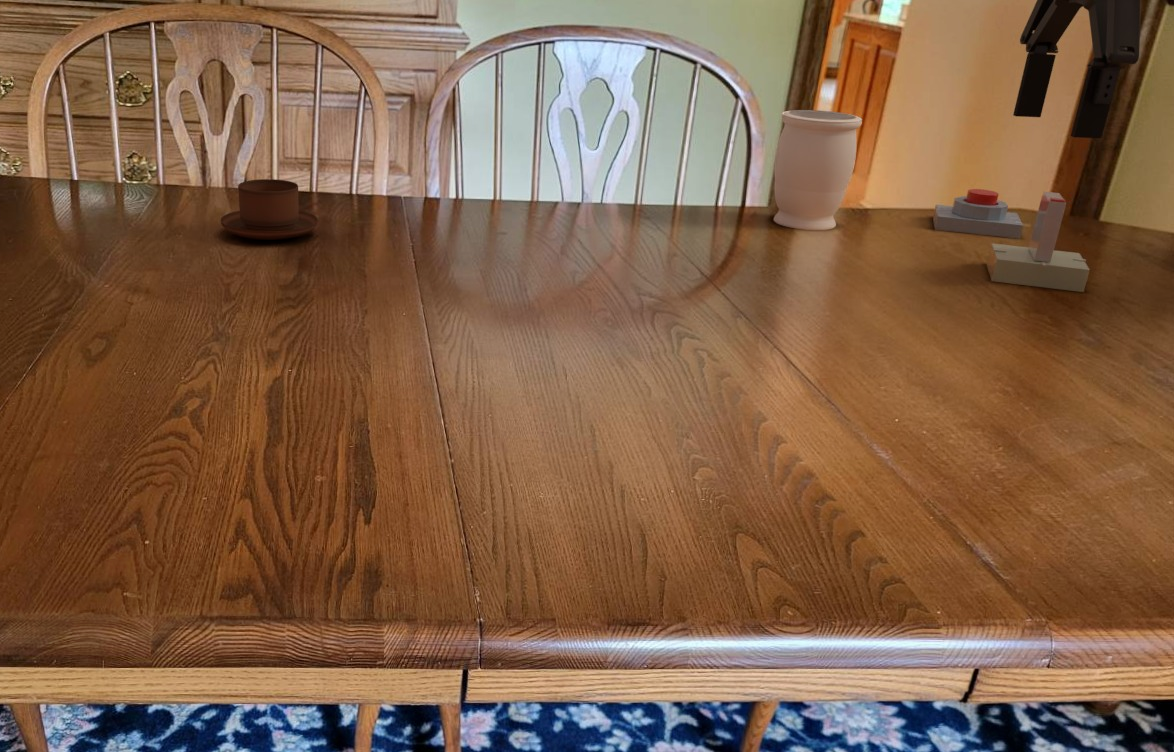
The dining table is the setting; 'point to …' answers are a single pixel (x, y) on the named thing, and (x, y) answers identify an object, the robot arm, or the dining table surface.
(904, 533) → the dining table surface
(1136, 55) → the robot arm
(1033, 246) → the grey flat slab
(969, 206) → the button box
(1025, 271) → the base
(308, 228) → the cup and saucer
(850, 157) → the jar
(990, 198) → the button
